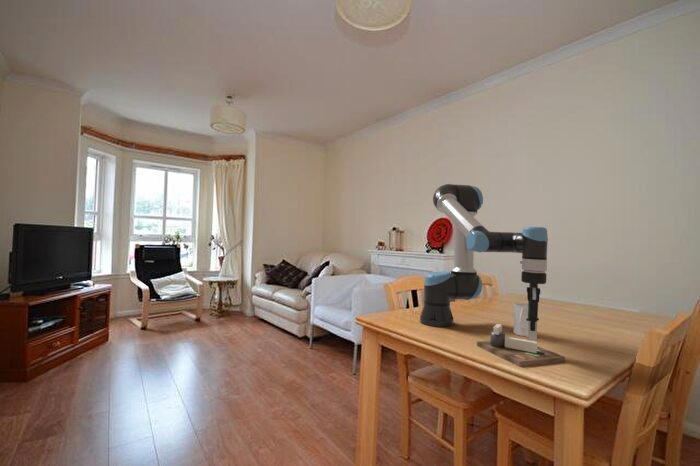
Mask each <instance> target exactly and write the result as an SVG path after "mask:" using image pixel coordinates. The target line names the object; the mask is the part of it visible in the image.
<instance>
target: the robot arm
mask: <svg viewBox="0 0 700 466" xmlns="http://www.w3.org/2000/svg"><path fill="white" fill-rule="evenodd" d="M432 196H433V197H432V202H433V205H434V207H435V209H437V211H438V212H440V213H442V214H444V215H445V216H446V217H447V218H448V219H449V220H450V221H451V223H453V225H454V248H453V249H454V251H453V253H454V257H453V259H454V261H453V264H454V266H453V267H452V268H451V269H450V271H445V270H444V271H443V270H441V271H439V270H438V271H432V272H428V273H426V274H425V276H424V280H423V281H424V282H423V284H424V285H423V286H424V287H423V289H424V290H423V306H422V309H421V312H420V316H419V323H421V324H423V325H426V326H431V327H438V328H439V327H440V328H443V327H452V326H454V323H455V320H454V316H453V313H452V310H451V301H452V300H455V301H457V300H466V301H469V300H473V299H474V300H475V299H476V298H478V297H479V296H480V295H481V293H482V292H483V291H482V289H483V281H482V278H481V277H480V276H479V275H478V271H477V270H476V269H475V267H474V252H475V253H515V254H521V259H522V260H520V262H519V264H521V269H522V271H521V278H520V279H521V282H522V283H525V284H529V285H528V286H529V287H528V286H527V287H526V293H527V295H526V298H527V301H528V303H527V304H528V319H527V318H526V321H528V337H527V340H529V341H535V342H538V341H537V339H538V321H539V317H538V315H539V302H540V295H541V288H540V287H539V285H546V284H547V273H546V272H547V271H548V260H547V259H548V258H547V257H548V241H549V238H548V229H547V228H546V227H544V226H525V227H523V228H522V231H521V232H513V231H512V232H507V231H506V232H505V231H502V232H501V231H490V230H488V229H487V228H486V227H485V226H484V225H483V224H482V223H481V222H480V221H478V219H476V218H475V216H476V215H478V211H479V210H480V209H481V208H482V205H483V202H484V197H483V192H482V191H481V190H480V188H479V187H477V186H475V185H469V184H467V185H466V184H452V183H447V184H443V185H441V186H439V187H438V188H437V189H436V190H435V191H434V192H433V195H432Z"/></svg>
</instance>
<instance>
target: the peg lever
mask: <svg viewBox="0 0 700 466" xmlns="http://www.w3.org/2000/svg"><path fill="white" fill-rule="evenodd" d="M489 340H490V345H492V346H494V347H501V348H502V347H507V348H512V349H517V350H522V351H527V352H533V353H538V354H543V355H545V352H540V351H537V346H538V341H535V340H528V339H523V338H516V337H512V336H506V334H505V332H503V324H502V323H501V324H499V323H497V324H495V325H494V326H493V330H491V331H490V339H489Z"/></svg>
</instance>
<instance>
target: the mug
mask: <svg viewBox="0 0 700 466" xmlns="http://www.w3.org/2000/svg"><path fill="white" fill-rule="evenodd" d="M526 318H527V319H528V303H524V302H515V303H514V304H513V330H512V332H513V333H514V335H517V336H521V337H527V338H528V321H526Z"/></svg>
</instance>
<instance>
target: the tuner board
mask: <svg viewBox="0 0 700 466" xmlns="http://www.w3.org/2000/svg"><path fill="white" fill-rule="evenodd" d="M476 346H477V347H479V348H481V349H482V350H485V351H487V352H489V353H491V354H493V355H495V356H497V357H499V358H501V359H504V360H506V361H508V362H509V363H511V364H513V365H515V366H518V367H528V366H537V365H538V364H539V365H547V364H554V363H555V364H556V363H565V362H566V356H563V355H561V354H558V353H556V352H553V351H551V350H548V349H547V348H546V349H545V348H543V347H540V346H538V345H537V351H540V352H545V355H543V354H538V353H533V352H527V351H522V350H517V349H512V348H507V347H502V348H501V347H494V346H492V345H490V339H489V340H477V341H476Z"/></svg>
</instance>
